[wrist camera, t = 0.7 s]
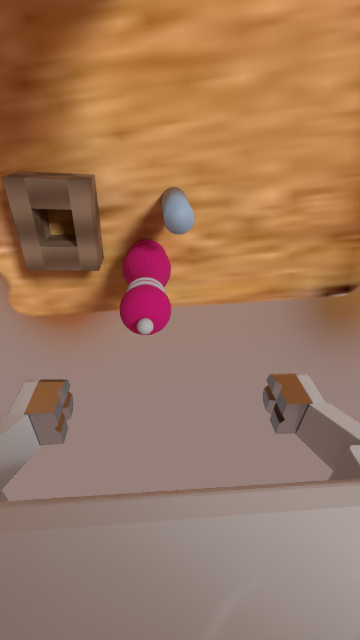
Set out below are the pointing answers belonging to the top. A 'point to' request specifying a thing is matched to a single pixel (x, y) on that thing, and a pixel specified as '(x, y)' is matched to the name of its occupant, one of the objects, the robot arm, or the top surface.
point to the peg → (176, 211)
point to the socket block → (32, 225)
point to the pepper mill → (146, 288)
